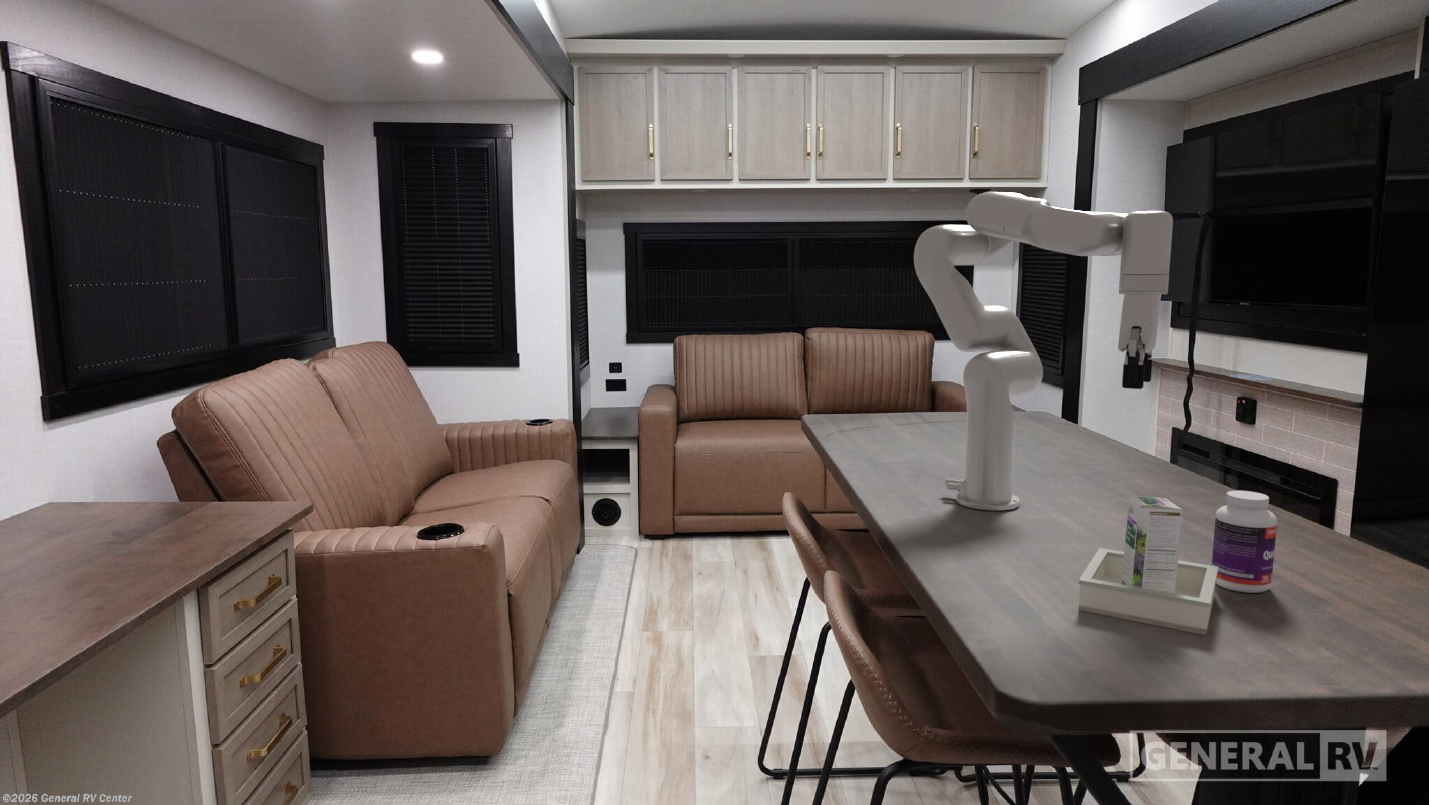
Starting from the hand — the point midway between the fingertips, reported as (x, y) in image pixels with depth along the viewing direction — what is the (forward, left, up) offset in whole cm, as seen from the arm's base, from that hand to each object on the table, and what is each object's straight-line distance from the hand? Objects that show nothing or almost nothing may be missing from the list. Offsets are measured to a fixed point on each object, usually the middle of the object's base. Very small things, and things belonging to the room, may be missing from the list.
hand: (1136, 384), depth 149 cm
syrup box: (+7, -29, -28) cm, 40 cm away
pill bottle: (+18, -14, -28) cm, 36 cm away
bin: (+7, -29, -28) cm, 41 cm away
